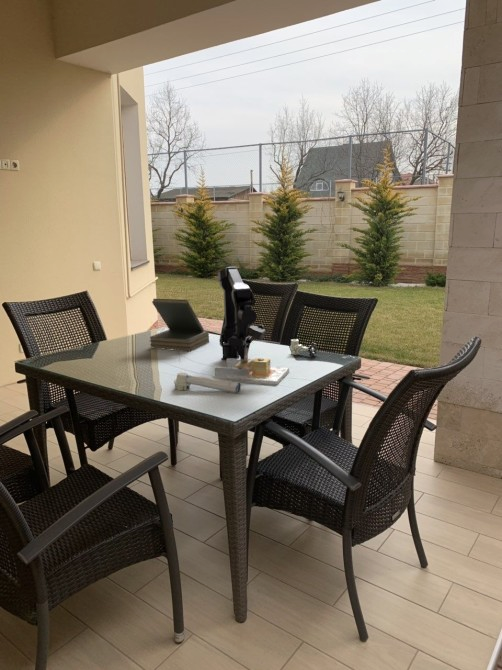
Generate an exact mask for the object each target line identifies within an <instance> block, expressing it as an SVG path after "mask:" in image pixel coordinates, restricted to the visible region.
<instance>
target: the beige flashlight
mask: <svg viewBox="0 0 502 670" xmlns="http://www.w3.org/2000/svg"><path fill="white" fill-rule="evenodd" d="M173 383H174V389H176V390H178V391H180V390H181V391H187V390H186V389H188V390H190V386H191V385H194V386H199V387H203V388H208V389H212V390H217V391H222V392H226V393H227V394H229V393H231V394H232V393H233V394H239V392H240V391H241V382H233V381H232V380H230V381H227V380H220V379H213V377H203V376H197V375H189V374H188V373H186V372H178V373H177V375H176V378H175V379H174V380H173Z"/></svg>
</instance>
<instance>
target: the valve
mask: <svg viewBox="0 0 502 670" xmlns="http://www.w3.org/2000/svg"><path fill="white" fill-rule="evenodd" d="M289 348H290V352H291V353H290V354H291V355H294V356H295V355H296V356H297V355H300V353H299V352H303V351H308V355H309V356H310V357H315V355H317V350H318V347H317V343H316V342H311V344H309V346H306V345H305V346H304V345H303V344H299V339H297V338H294V339H290V347H289ZM309 356H308V357H309Z"/></svg>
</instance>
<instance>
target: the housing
mask: <svg viewBox="0 0 502 670" xmlns="http://www.w3.org/2000/svg"><path fill="white" fill-rule="evenodd" d="M270 367H271V358H264V357H263V358H260V357H255V358H254V359H253V361H252V374H265V375H267V374H268V373H269V372H270Z"/></svg>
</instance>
